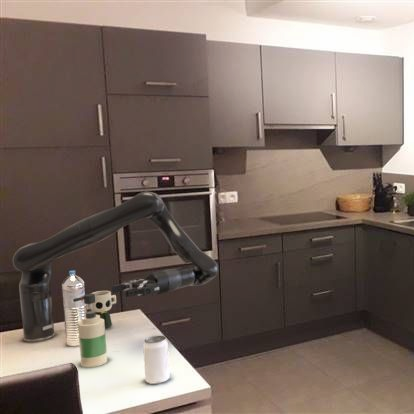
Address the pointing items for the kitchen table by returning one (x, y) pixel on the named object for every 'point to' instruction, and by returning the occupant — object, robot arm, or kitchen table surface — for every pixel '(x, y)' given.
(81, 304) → the water bottle
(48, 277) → the robot arm
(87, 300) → the pump head
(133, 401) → the kitchen table surface
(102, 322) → the dispenser
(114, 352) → the kitchen table surface
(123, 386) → the kitchen table surface
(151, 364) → the can
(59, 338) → the kitchen table surface
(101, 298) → the character mug
